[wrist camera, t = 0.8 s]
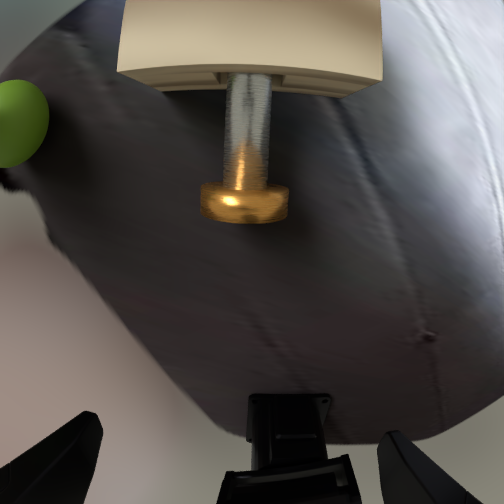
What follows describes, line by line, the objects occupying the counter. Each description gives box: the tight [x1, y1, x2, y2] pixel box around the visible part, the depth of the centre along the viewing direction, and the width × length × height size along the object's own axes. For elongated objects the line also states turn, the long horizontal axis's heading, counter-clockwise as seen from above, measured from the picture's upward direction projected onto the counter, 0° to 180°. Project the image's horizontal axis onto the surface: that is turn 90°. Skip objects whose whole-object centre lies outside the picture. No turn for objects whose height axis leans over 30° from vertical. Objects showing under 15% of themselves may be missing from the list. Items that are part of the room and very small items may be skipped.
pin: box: [201, 72, 289, 224], centre depth 12 cm, size 13×4×4 cm, turn 177°
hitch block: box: [117, 0, 383, 98], centre depth 11 cm, size 6×10×6 cm, turn 87°
